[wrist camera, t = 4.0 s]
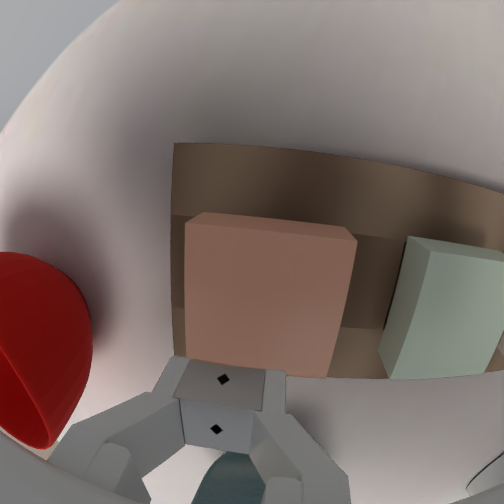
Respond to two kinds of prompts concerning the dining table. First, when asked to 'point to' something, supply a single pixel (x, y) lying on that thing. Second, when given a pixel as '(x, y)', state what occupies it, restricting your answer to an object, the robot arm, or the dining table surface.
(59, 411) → the ceramic cup
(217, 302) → the pink square block
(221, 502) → the flower pot
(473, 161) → the dining table surface
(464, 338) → the sage tile
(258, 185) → the button board
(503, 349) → the white square block
